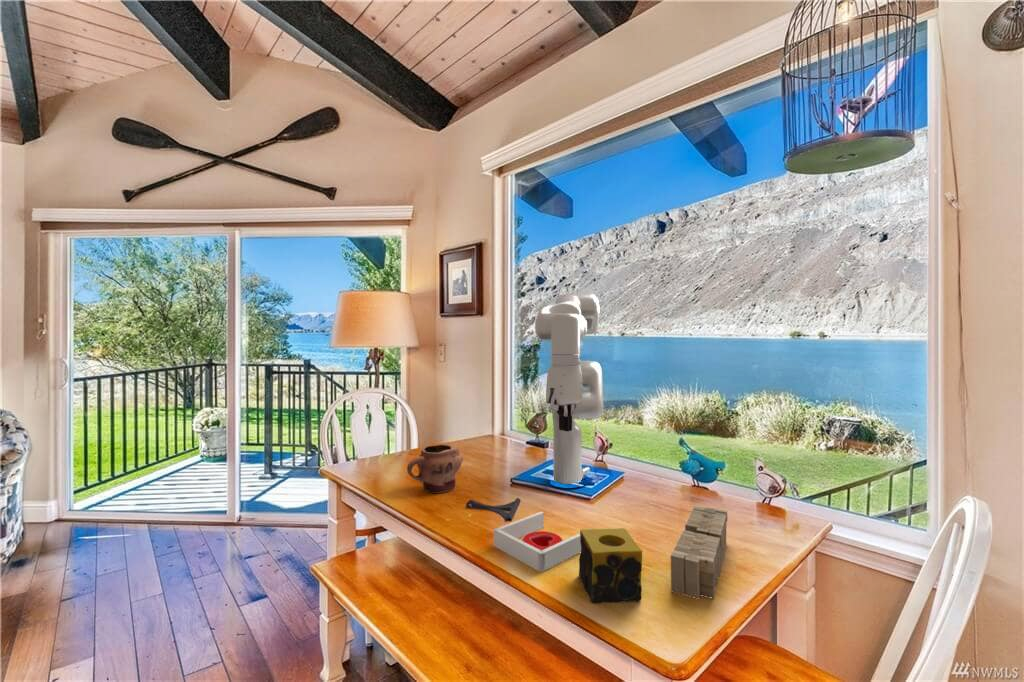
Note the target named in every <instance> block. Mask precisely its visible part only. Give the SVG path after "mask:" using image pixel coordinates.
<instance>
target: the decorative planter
mask: <svg viewBox="0 0 1024 682" xmlns="http://www.w3.org/2000/svg"><path fill="white" fill-rule="evenodd" d="M463 459H464V458H463V456H462V454H460V450H459V448H458V447H457V446H456V445H452V444H436V445H430V446H426V447H423V448H422V449H421V451H420V454H419V456H418V457H414V458H413V459H411V460H410V461H409V462H408V464H407V468H406V471H407V474H408V475H409V476H410V478H412V479H413V480H414V481H417V482H419V483H421V484H423V485H422V486H423V488H424V490H425V491H426V492H428V493H431V494H441V493H447V492H449V491H452V490H454V489H455V488H456V474H457V472H458V471H459V469H460V467H461V466H462V463H463ZM416 465H417V469H418V472H419V473H418V475H415V474H414V473H413V471H412V470H413V468H414V466H416Z"/></svg>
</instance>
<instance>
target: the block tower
mask: <svg viewBox="0 0 1024 682" xmlns="http://www.w3.org/2000/svg"><path fill="white" fill-rule="evenodd" d="M727 522H728V510H726V509H720V508H714V507H708V506H702V505H695V504H694V505H693V508H692V510H691V513H690V514H689V517H688V519H687V522H685V525H684V530H683V531H682V532H681V534H680V538H678V540H677V543H676V545H675V546H674V550H673V551H672V553H671V554H670V592H671V591H673V592H672V593H674V592H676V593H675V594H678V593H680V594H679V595H681V594H686V595H688V596H691V597H690V598H692V597H695V598H699V599H700V597H701V596H700V595H703V596H707V597H712V598H714V599H715V596H714V595H716V588H717V587H716V586H718V584H719V579H718V577H719V578H720V575H721V571H722V568H723V563H724V559H725V554H726V549H727V548H726V547H727ZM715 587H716V588H715ZM686 595H685V596H686ZM688 596H687V597H688ZM699 596H700V597H699ZM703 596H702V597H703ZM707 597H706V598H707ZM695 598H694V599H695Z"/></svg>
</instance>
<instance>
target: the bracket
mask: <svg viewBox="0 0 1024 682" xmlns="http://www.w3.org/2000/svg"><path fill="white" fill-rule="evenodd" d="M520 503H521V499H520V498H519V497H517V498H515V500H514V501H511V502H508V503H506V504H502V505H501V504H500V505H489V504H485V503H481V502H479V501H475V500H473V499H469V500H468V501H467V502H466V503H465V508H466V509H475V510H476V509H477V510H488V511H492V512H494V513H497V514H499V515H500V516H501V517H502V518H503V519H504V520H505V521H506V522H507V521H508V519H510V522H513V519H514V517H515V515H516V512H517V510H518V507H519V506H520Z"/></svg>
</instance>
